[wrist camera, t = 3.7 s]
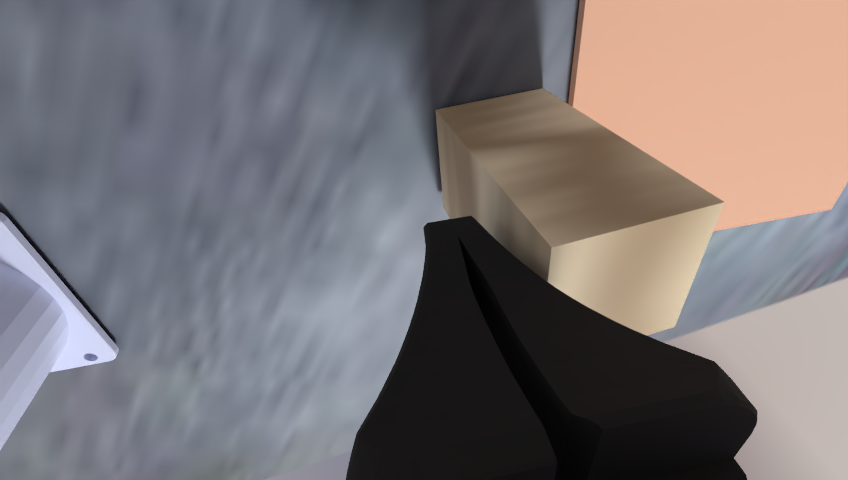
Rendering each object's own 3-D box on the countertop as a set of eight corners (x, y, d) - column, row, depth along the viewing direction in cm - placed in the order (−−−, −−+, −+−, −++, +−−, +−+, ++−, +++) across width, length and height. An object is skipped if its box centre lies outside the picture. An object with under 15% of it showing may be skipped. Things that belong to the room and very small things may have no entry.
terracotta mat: (551, 254, 20) (554, 260, 20) (585, -51, 13) (591, -50, 12) (823, 205, 21) (831, 209, 21) (1002, -107, 14) (1018, -107, 13)
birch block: (443, 207, 17) (537, 368, 11) (435, 109, 15) (552, 247, 8) (535, 185, 18) (674, 326, 12) (542, 88, 15) (724, 202, 9)
